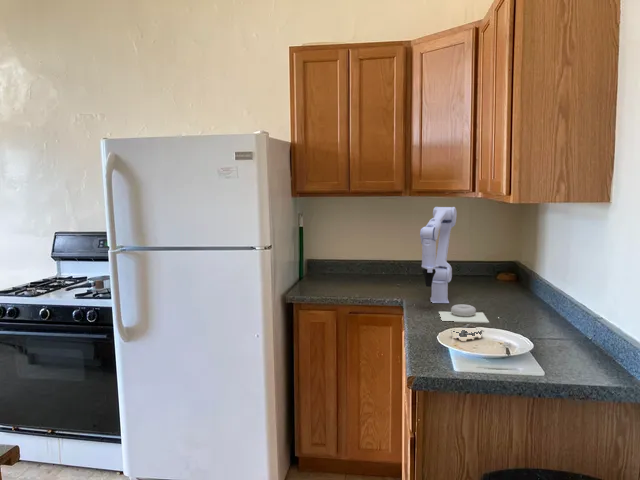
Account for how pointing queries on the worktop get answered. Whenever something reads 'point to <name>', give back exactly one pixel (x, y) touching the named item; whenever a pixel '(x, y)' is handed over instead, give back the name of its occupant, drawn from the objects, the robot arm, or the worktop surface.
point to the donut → (463, 310)
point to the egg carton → (465, 333)
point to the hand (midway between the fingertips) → (428, 286)
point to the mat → (476, 318)
